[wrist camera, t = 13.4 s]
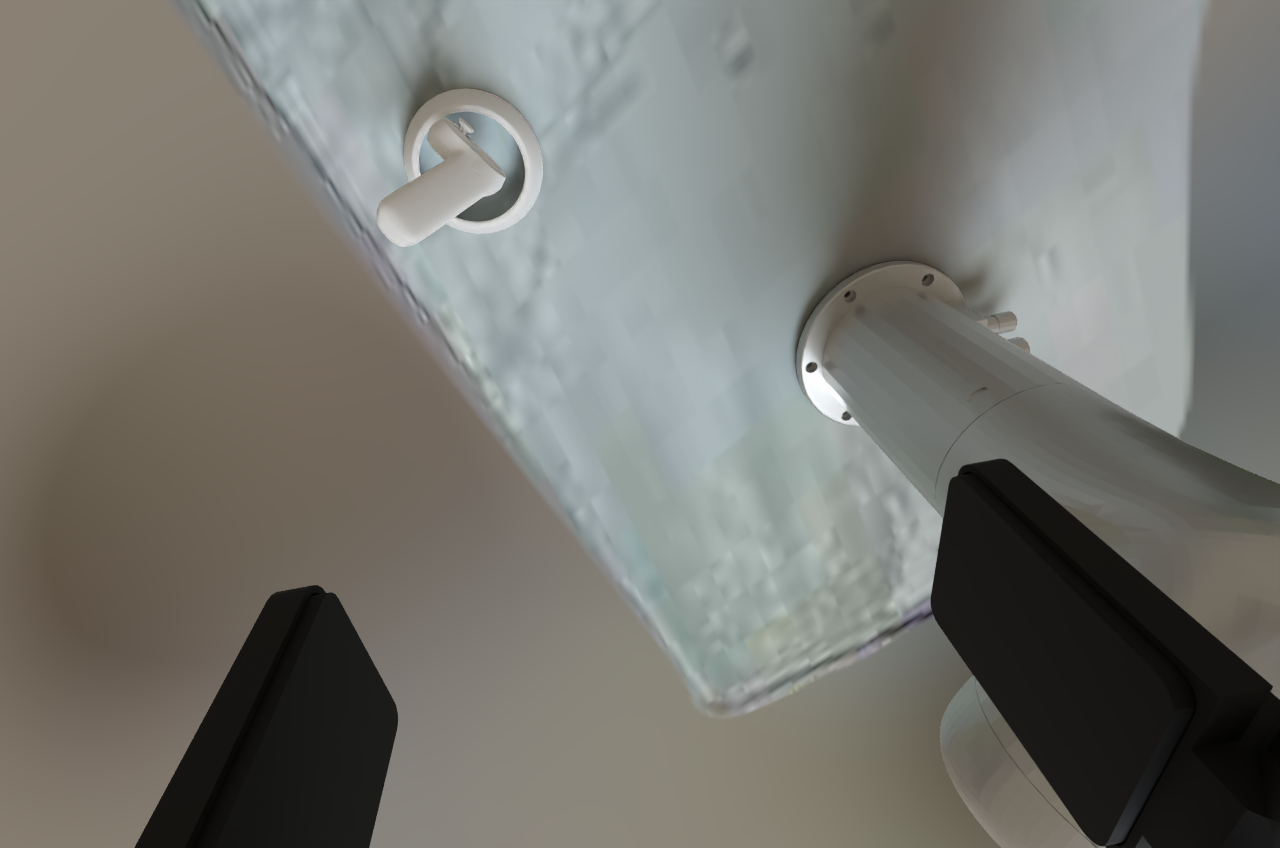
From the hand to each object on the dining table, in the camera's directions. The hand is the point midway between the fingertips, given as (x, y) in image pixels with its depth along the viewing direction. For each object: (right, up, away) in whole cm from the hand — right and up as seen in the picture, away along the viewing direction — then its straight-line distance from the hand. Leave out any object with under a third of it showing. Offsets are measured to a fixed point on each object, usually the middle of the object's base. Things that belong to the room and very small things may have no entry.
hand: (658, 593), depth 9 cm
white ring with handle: (-10, +17, +26) cm, 33 cm away
